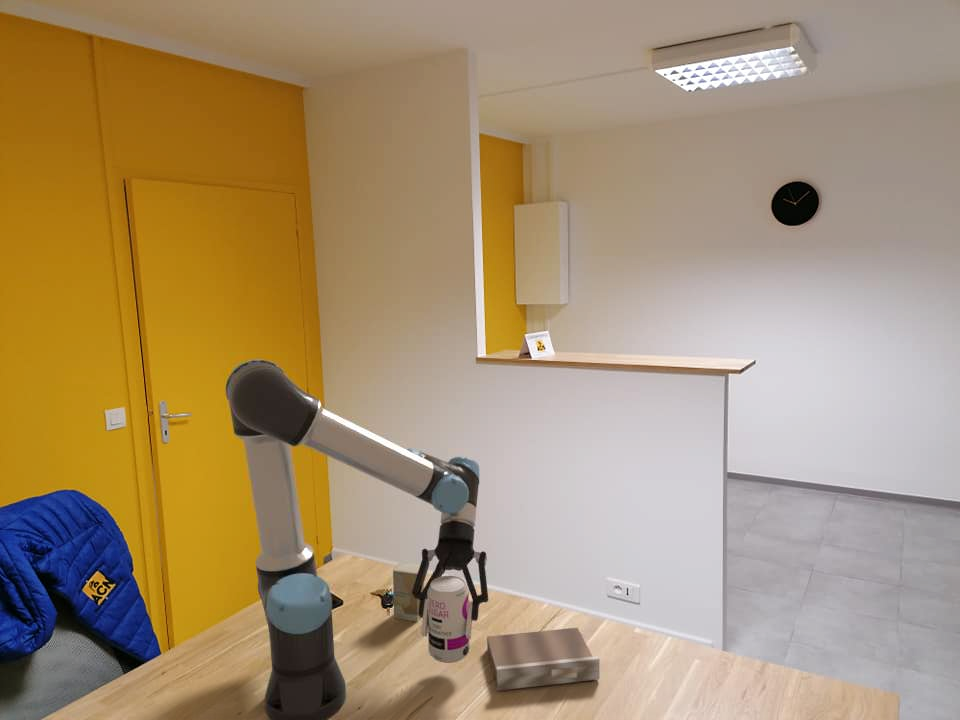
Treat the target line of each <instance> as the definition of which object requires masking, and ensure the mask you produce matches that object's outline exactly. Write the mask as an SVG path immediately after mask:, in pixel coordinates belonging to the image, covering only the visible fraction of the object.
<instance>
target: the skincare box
mask: <svg viewBox="0 0 960 720" xmlns="http://www.w3.org/2000/svg"><path fill="white" fill-rule="evenodd" d="M420 565H421V564H413V563H405V562H398V564H397V565H396V566H395V567H394V569H393V571H392V581H393V584H392V585H393V586H392V588H393V593H392V594H393V619H397V620H398V619H399V620H403V621H404V620H405V621H410V622H419V621H420V620H421V618H420V617H419V614H418V611H419V604H420V600H419V599H415V598H414V596H413V594H412V590H413V587H414V583H415V580H416V577H417V574H418V571H419V568H420ZM424 583H425V582H424ZM424 583H423V587H422V590H421V592H422V591H423V589H424V588H425V584H424Z"/></svg>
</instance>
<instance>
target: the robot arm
mask: <svg viewBox="0 0 960 720" xmlns="http://www.w3.org/2000/svg"><path fill="white" fill-rule="evenodd" d="M225 396H226V398H227V400H228V403H229V404H228V405H229V409H230V416H231V421H232V427H233V433H234V435H235V437H237V438H239V439H241V441H243V444H244V450H245V456H246V458H245V459H246V463H247V469H248V476H249V481H250V488H251V494H252V500H253V506H254V514H255V518H256V525H257V530H258V531H257V532H258V536H259V537H258V538H259V544H260V550H261V552H260V554H259V555H258V556H257V557H256V559H255V567H256V575H257V590H258V591H257V592H258V595H259V597H260V600H261V604H262V608H263V611H264V615H265V619H266V623H267V628H268V635H269V647H270V659H271V660H270V661H271V672H270V675H269V679H268V683H267V687H266V691H265V694H264V705H265V713H266V715H267V717H268V719H270V720H326V719H328V718H330V717H331V716H333V715H334V714H335V713H337V712H338V711H339V710H340V709H341V708H342V706H344V704H345V701H346V698H347V690H346V689H347V687H346V681H345V678H344V676H343V674H342V671H341V669H340V667H339V664H338V662H337V659H336V657H335V643H334V642H335V641H334V628H333V625H334V623H333V597H332V593H331V589H330V586H329V584H328V583H327V581H325V579H324V578H322V577H321V576H319V575H318V572H317V570H318V569H317V564H316V558H315V557H316V556H315V552H314V551H315V549H314V548H313V547H312V546H311V545H310V544H308V543H307V542H305V535H304V530H303V529H304V528H303V521H302V517H301V515H302V514H301V509H300V502H299V497H298V488H297V483H296V476H295V468H294V463H293V461H294V460H293V455H292V449H291V446H292V447H294V448H296V447H298V446H299V447H300V446H302V445H304V446H305V447H307V448H309V449H312V450H314V451H316V452H319V453H321V454H322V455H325V456H326V457H329V458H331V459H334V460H335V461H338V462H340V463H342V464H345V465H346V466H349V467H351V468H353V469H355V470H358V471H359V472H361V473H364V474H366V475H369V476H371V477H373V478H374V479H377V480H378V481H382V482H383V483H385V484H388V485H390V486H392V487H394V488H397V489H398V490H401V491H403V492H405V493H407V494H409V495H411V496H414V497H415V498H417V499H419V500H420V501H423V502H426V503H428V504H429V505H432V506H433V508H434V509H435V510H437V511H439V512H440V513H441V515H440V521H439V522H440V525H439V530H438V531H439V533H438V541H437V545H436V547H435V548H434V549H427V548H423V549H422V550H421V562H420V564H419V565H420V568H419V571H418V574H417V577H416V580H415V583H414V587H413V590H412V594H413V596H414V598H415V599H419V600H420V604H419V611H418V614H419V617H420V619H421V618H422V620H421V629H420V633H421V635H422V637H428V596H427V592H428V589H429V587H430V584H431V582H432V581H433V580H434V579H436V578H438V577H442V576H443V575H444V574H445V572H446V571H452V570H454V571H459V572H461V571H462V573H463V574H462V575H463V576H464V579H465V583H466V586H467V588H468V590H469V594H470V596H471V599H472V600H471V601H470V600H469V602H468V613H467V625H466V637H467V639H469V640H471V639H472V630H473V629H472V628H473V622H477V621H478V619H479V611H480V610H479V608H480V605H481V604H483V603H488V602H489V593H488V591H489V590H488V582H487V574H486V572H487V571H486V563H487V560H488V555H487V552H486V551H481V552H479V551H475V549H474V539H475V526H476V517H477V515H476V514H477V505H478V504H477V503H478V495H479V485H480V466H479V464H478V462H477V461H476V460H474V459H472V458H471V457H464V456H454V457H452V458H450V459H449V461H445V460H443V459H440V458H437V457H435V456H432V455H429V454H427V453H424V452H423V451H422V450H420V451H419V450H416V449H414V448H403V447H401V446H399V445H398V444H396V443H394V442H392V441H390V440H388V439H386V438H385V437H382V436H380V435H378V434H376V433H374V432H372V431H370V430H368V429H366V428H363V427H362V426H360V425H358V424H356V423H355V422H352V421H350V420H348V419H346V418H344V417H342V416H340V415H338V414H336V413H334V412H332V411H330V410H328V409H326V408H325V407H322V403H321V400H320V399H319V398H317V397H314V396H312V395H311V394H310V393H307V392H306V391H305V390H303V389H301V388H300V387H299V386H298V385H296V384H295V383H294V382H293V381H292V380H291V379H290V378H289V377H288V375H286V373H285V371H284V370H283V368H281V366H279V365H278V364H276V363H274V362H272V361H269V360H266V359H251V360H250V359H249V360H247V361H244V362H242V363H241V364H238V365H237V366H236V367H235V368H234V369H233V370H232V372H231V373H230V374H229V376H228V379H227V380H226V384H225ZM434 557H436V559H437V560H438V561H437V562H438V563H436V566H435V569H434V570H433V572H432V574H431V576H430V577H429V579H428V581H427V583H425V579H426V577H427V573H428V570H429V568H430V562H431V561H433V558H434ZM473 558H475V562H476V564H478V565H477V566H478V575H479V582H480V583H479V586H480V594H478V593H477V591H476V587H475V585H474V581H473V579H472V576H471V573H470V570H469V567H468V565H469V564H470V562H471V561H472V560H473ZM423 583H425V585H424V589H423V591H422V592H421V590H422V587H423Z"/></svg>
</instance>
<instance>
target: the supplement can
mask: <svg viewBox="0 0 960 720" xmlns="http://www.w3.org/2000/svg"><path fill="white" fill-rule="evenodd" d="M469 594H470V591H469V588H468V585H467V583H466V580H464V579H463V578H461V577H459V576H455V575H444V576H443V575H442V576H441V577H438V578H436V579H434V580H433V581H432V582H431V584H430V587H429V589H428V592H427V596H428V631H427V637H428V641H427V642H428V654H429V655H430V656H431V657H432V658H433V659H434V660H435V661H437V662H439V663H442V664H443V663H444V664H451V663H452V664H454V663H457V662H460V661H462V660H463V659H465V657H467V655H468V654H469V653H470V652H469V651H470V639H467V637H466V625H467V613H468V602H469V601H470V600H469V599H470V595H469Z"/></svg>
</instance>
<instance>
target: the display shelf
mask: <svg viewBox="0 0 960 720" xmlns="http://www.w3.org/2000/svg"><path fill="white" fill-rule="evenodd" d="M486 645H487V646H486V647H487V650H486V651H487V653H488V657H489V661H490V664H491V668H492V672H493V675H494V678H495V683H496V689H497V691H505V690H506V691H507V690H514V689H523V688H531V687H542V686H550V685H558V684H559V685H561V684H567V683H568V684H569V683H578V682H587V681H594V680H600V656H598V655H595V656H594V655H592V652H591V651H590V649H589V647H588V645H587V643H586V641H585V639H584V637H583V636H582V632H581V631H580V630H579V628H578V627H569V628H561V629H559V628H558V629H549V630H541V631H540V630H539V631H530V632H528V631H527V632H521V633H519V632H518V633H510V634H500V635H490V636H489V635H488V636H486Z"/></svg>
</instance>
